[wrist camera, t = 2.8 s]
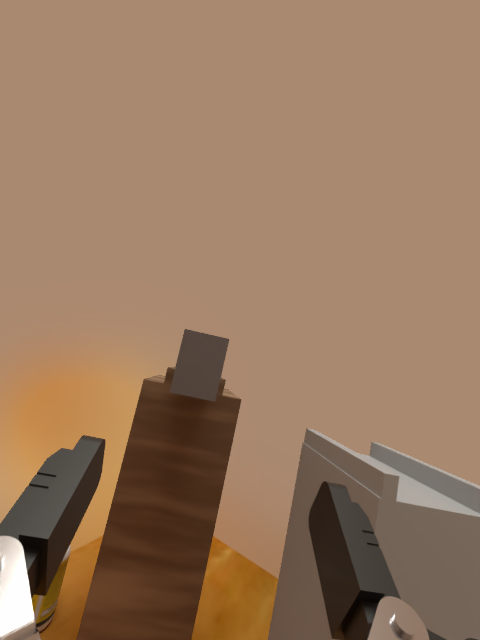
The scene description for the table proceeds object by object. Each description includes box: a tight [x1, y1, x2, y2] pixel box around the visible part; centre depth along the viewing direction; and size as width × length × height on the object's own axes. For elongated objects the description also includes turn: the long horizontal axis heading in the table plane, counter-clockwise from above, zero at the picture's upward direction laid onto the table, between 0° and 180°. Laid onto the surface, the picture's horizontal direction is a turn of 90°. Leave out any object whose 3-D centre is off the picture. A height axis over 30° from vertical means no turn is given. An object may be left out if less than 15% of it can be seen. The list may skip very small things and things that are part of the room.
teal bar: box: [170, 329, 229, 402], centre depth 38 cm, size 24×4×5 cm, turn 7°
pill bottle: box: [31, 546, 70, 632], centre depth 41 cm, size 6×6×11 cm
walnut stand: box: [77, 367, 241, 640], centre depth 38 cm, size 14×10×34 cm
